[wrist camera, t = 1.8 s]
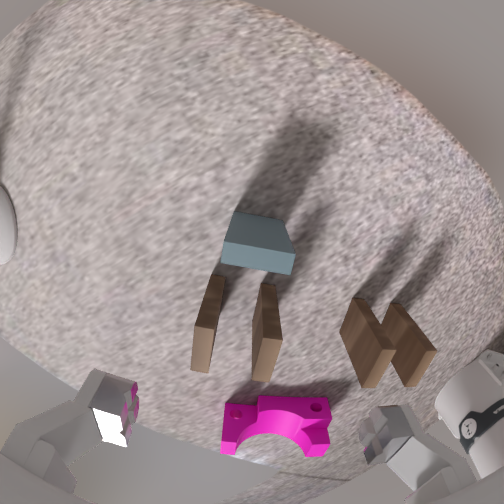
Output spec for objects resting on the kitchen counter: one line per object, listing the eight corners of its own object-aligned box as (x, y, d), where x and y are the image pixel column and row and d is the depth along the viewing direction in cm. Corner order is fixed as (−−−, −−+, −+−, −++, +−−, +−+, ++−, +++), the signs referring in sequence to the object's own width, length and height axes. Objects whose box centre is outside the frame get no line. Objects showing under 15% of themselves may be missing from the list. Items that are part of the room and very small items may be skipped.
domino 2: (234, 211, 29) (223, 241, 20) (282, 220, 29) (295, 254, 20) (231, 226, 30) (220, 262, 20) (279, 235, 30) (290, 275, 20)
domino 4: (364, 299, 32) (396, 350, 23) (350, 333, 34) (375, 388, 25) (352, 297, 32) (382, 349, 23) (339, 332, 34) (361, 387, 24)
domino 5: (400, 304, 33) (437, 350, 23) (385, 336, 34) (415, 386, 25) (390, 302, 32) (426, 350, 23) (376, 335, 34) (404, 387, 25)
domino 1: (225, 276, 31) (214, 329, 22) (219, 314, 33) (208, 373, 24) (211, 274, 31) (194, 326, 22) (206, 312, 33) (190, 370, 24)
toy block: (326, 396, 38) (336, 434, 31) (316, 420, 40) (322, 456, 33) (226, 391, 38) (222, 431, 31) (223, 415, 40) (220, 453, 33)
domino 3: (275, 285, 32) (282, 340, 22) (265, 322, 33) (269, 382, 24) (260, 283, 32) (263, 337, 22) (252, 320, 33) (251, 380, 24)
